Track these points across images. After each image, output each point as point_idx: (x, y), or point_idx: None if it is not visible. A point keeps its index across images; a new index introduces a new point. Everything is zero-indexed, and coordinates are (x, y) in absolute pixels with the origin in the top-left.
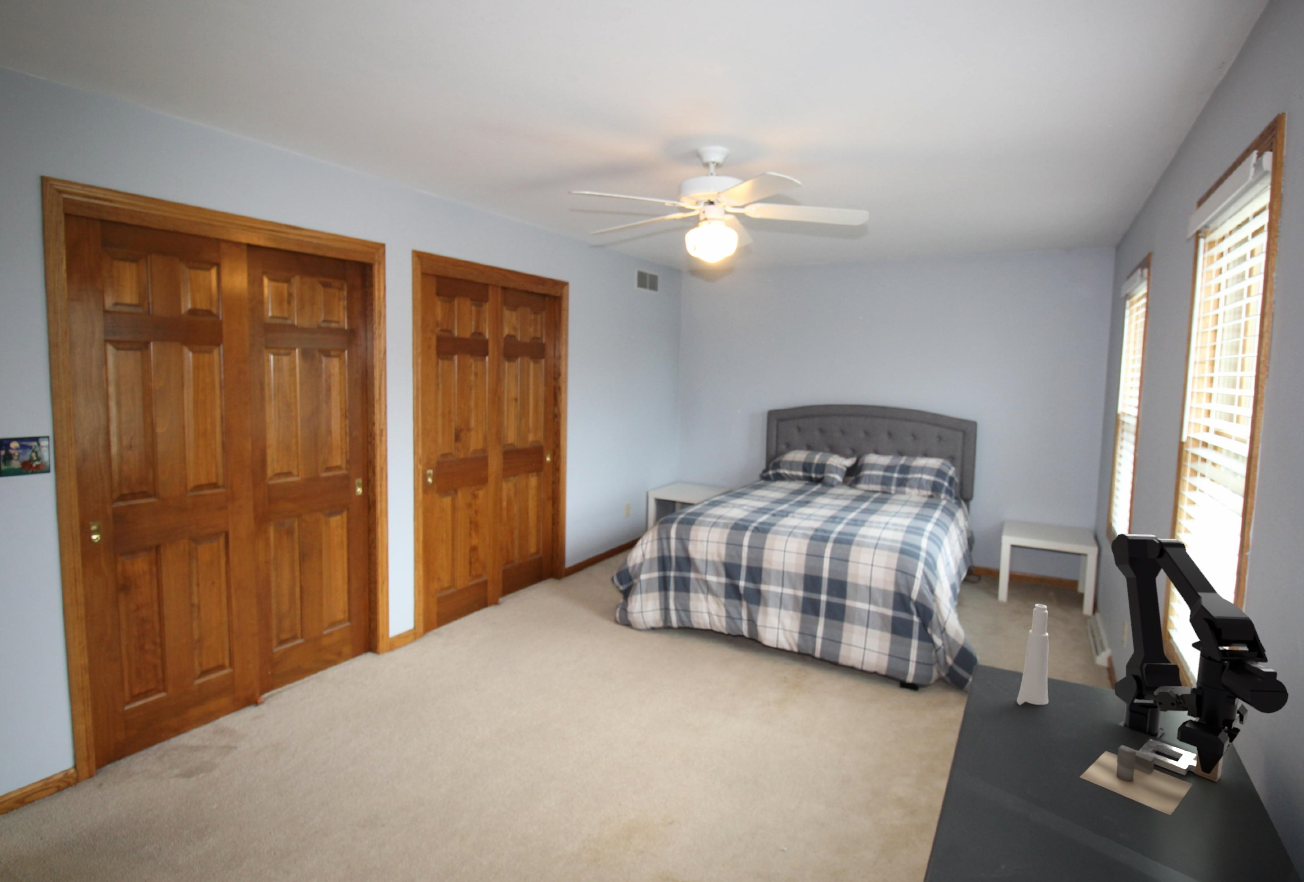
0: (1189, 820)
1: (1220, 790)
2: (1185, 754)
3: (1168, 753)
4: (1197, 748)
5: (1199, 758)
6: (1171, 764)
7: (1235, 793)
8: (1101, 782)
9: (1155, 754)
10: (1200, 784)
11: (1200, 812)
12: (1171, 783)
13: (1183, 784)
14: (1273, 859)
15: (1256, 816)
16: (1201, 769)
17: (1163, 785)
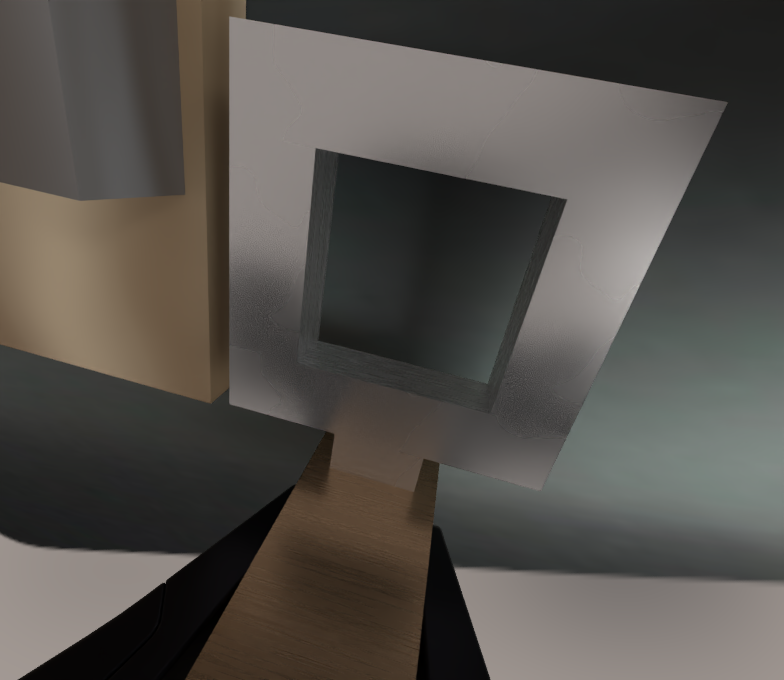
0: (2, 353)
1: None
2: (487, 425)
3: (523, 295)
4: (73, 651)
5: (205, 553)
6: (236, 321)
7: None
8: None
9: (298, 197)
10: None
11: (101, 395)
12: (119, 304)
13: (163, 362)
14: (37, 537)
15: None
16: (286, 491)
17: (55, 263)
